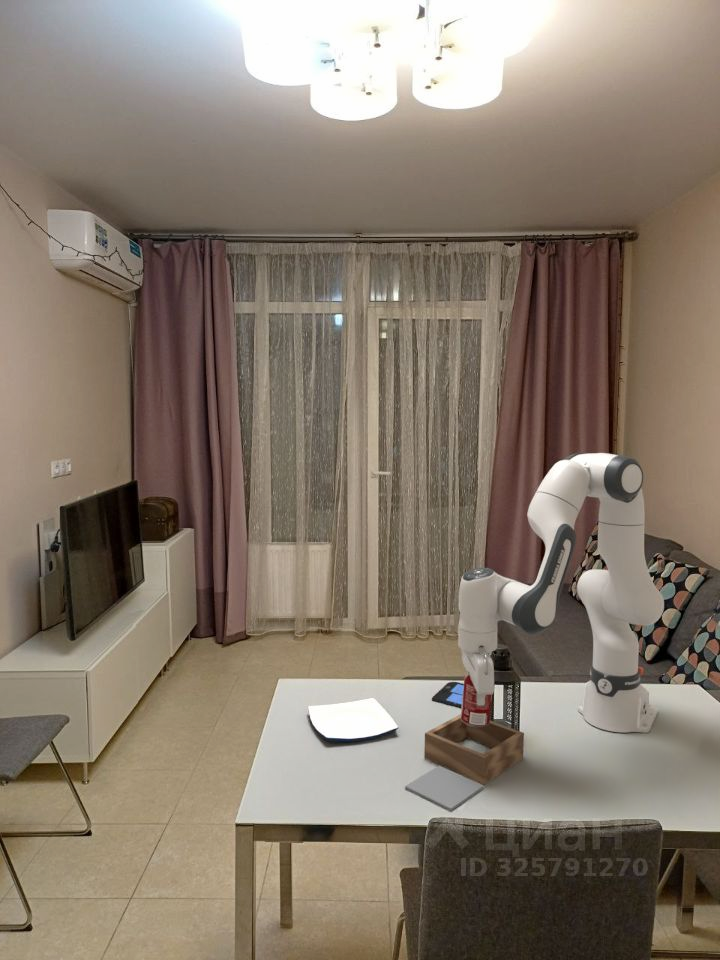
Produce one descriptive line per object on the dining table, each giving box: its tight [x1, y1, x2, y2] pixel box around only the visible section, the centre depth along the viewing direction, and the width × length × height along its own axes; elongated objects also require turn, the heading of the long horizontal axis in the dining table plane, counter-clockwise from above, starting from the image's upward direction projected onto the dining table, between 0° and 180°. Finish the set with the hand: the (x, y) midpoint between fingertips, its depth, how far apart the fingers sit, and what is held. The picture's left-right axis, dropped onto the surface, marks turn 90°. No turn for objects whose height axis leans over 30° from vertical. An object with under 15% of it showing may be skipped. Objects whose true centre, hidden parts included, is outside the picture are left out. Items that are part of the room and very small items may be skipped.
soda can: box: [460, 671, 494, 728], centre depth 159 cm, size 7×7×12 cm
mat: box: [404, 765, 485, 812], centre depth 147 cm, size 12×12×1 cm
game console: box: [431, 681, 464, 709], centre depth 193 cm, size 14×13×2 cm
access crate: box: [423, 713, 525, 785], centre depth 160 cm, size 16×16×6 cm
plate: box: [307, 697, 399, 742], centre depth 176 cm, size 20×20×3 cm
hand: (476, 697), depth 159 cm, fingers closed on soda can, 6 cm apart
